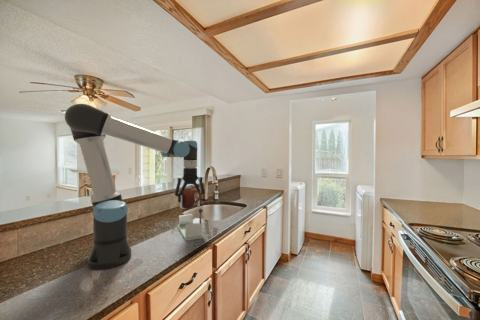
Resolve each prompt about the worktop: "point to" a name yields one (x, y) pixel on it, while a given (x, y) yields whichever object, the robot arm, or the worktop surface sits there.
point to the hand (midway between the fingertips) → (189, 207)
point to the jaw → (185, 219)
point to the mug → (189, 198)
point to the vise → (191, 230)
